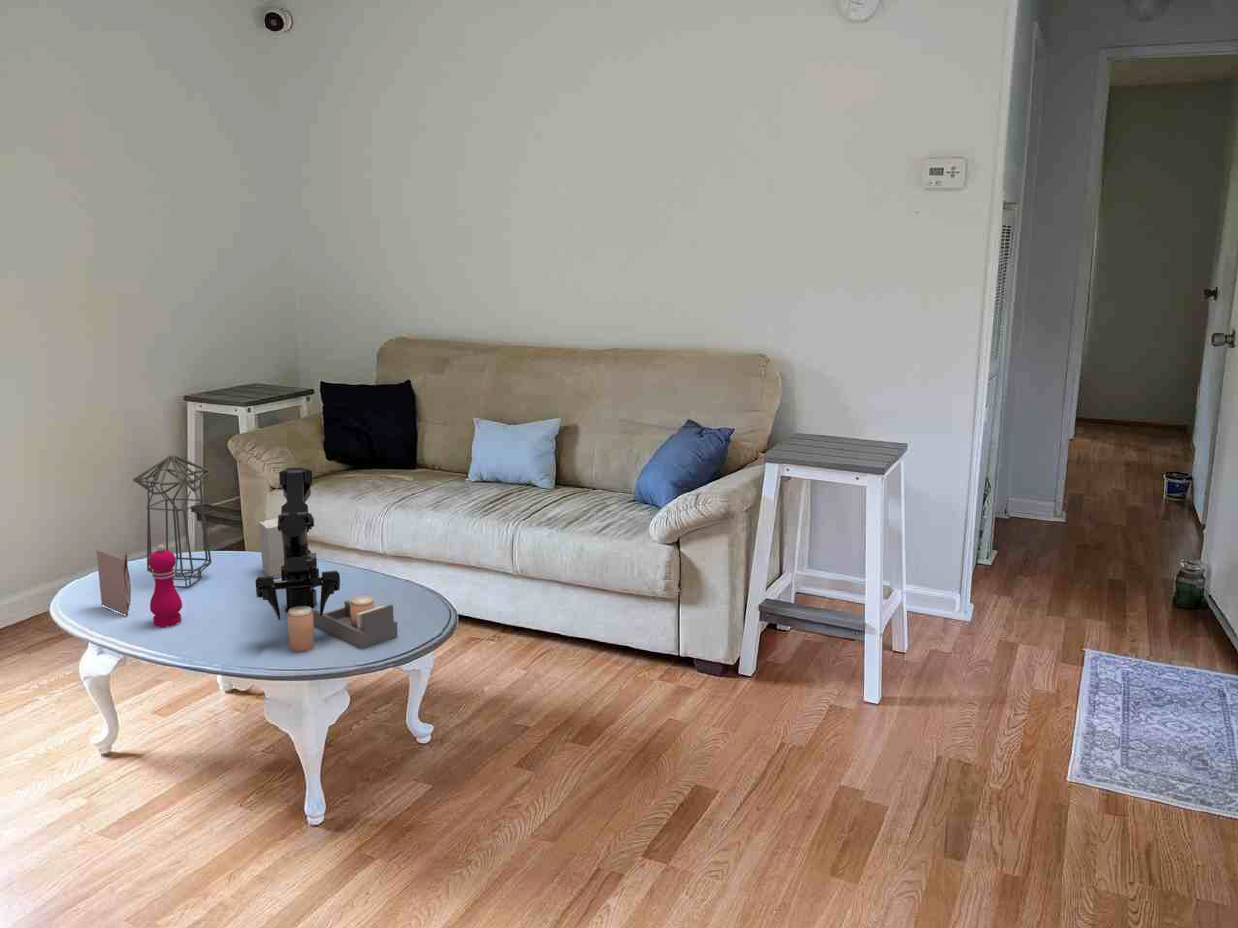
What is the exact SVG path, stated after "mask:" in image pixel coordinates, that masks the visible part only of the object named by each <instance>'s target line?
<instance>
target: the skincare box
mask: <svg viewBox="0 0 1238 928" xmlns="http://www.w3.org/2000/svg"><path fill="white" fill-rule="evenodd" d="M258 531H259V532H258V533H259V540H260V551H261V552H260V553H261V564H262V572H263V573H264V574H265V575H266V576H273V579H277V578H278V579H279V578H281V566H284V553H283V541H282V535H281V531H278V517H277V518H271V519H267V520H261V521H258Z"/></svg>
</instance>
